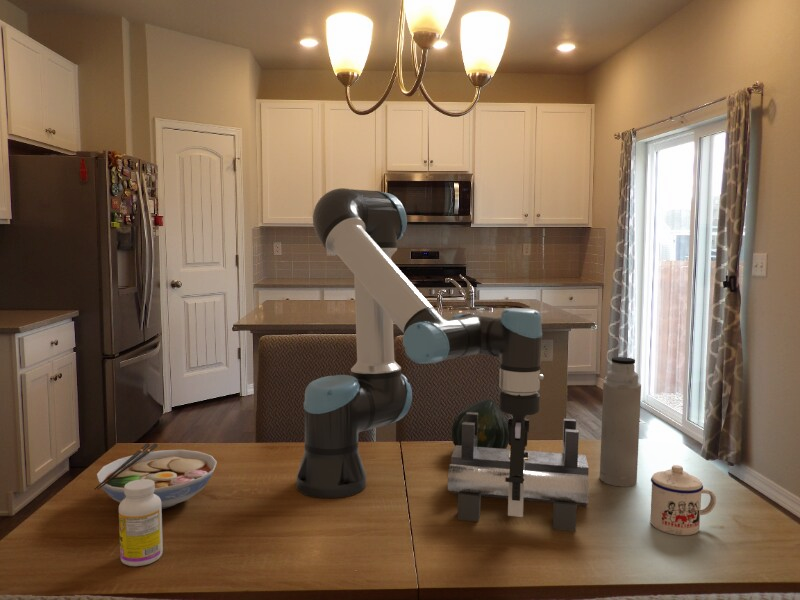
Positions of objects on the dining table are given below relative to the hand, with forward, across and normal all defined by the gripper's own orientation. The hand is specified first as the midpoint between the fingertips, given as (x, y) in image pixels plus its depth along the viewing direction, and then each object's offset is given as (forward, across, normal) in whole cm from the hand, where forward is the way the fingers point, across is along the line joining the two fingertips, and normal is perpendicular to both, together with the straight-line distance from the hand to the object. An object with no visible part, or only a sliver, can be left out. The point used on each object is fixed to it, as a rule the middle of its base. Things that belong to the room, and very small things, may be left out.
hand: (516, 502), depth 123 cm
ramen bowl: (+4, -8, +71) cm, 72 cm away
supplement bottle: (+4, -29, +61) cm, 68 cm away
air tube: (-1, 0, 0) cm, 1 cm away
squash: (+4, +37, +10) cm, 39 cm away
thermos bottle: (+4, +27, -22) cm, 35 cm away
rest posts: (+4, 0, 0) cm, 4 cm away
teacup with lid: (+4, +5, -31) cm, 32 cm away
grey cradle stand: (+4, +14, 0) cm, 15 cm away
